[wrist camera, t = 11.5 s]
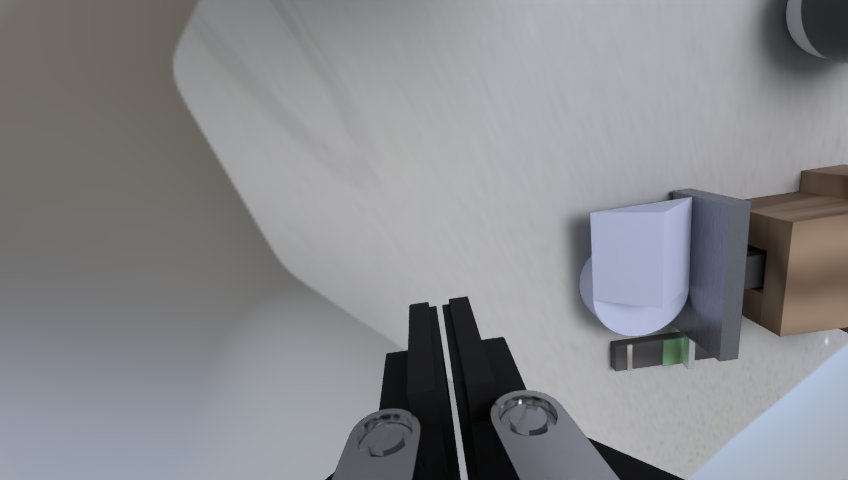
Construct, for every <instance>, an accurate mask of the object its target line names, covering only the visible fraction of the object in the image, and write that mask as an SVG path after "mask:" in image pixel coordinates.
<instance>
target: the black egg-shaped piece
mask: <svg viewBox="0 0 848 480" xmlns="http://www.w3.org/2000/svg"><path fill="white" fill-rule="evenodd" d="M786 21H787V26H788V30H789V32H790V35H791V36H792V38H793V40H794V41H795V42H796V43H797V44H798V45H799V46H800V47H801V48H802V49H803V50H805V51H806V52H808V53H810V54H812V55H815V56H818V57H822V58H826V59H830V60H832V61H835V62H840V63H848V0H788V3H787V10H786Z"/></svg>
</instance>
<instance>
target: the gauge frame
mask: <svg viewBox="0 0 848 480" xmlns="http://www.w3.org/2000/svg"><path fill="white" fill-rule="evenodd" d="M745 200H746V201H751V208H750V220H749V232H748V245H751V246H754V247H757V248H759V249H762V250H765V251H767V258H766V269H765V279H764V286H762V287H755V288H748V289H744V292H743V304H742V315H743V316H745V317H746V318H748V319H750V320H752V321H753V322H755V323H757V324H759V325H760V326H762V327H764V328H766V329H768V330H769V331H771V332H773V333H775V334H776V335H778V336H780V337H781V336H788V335H795V334H802V333H809V332H816V331H824V330H831V329H841V330H843V331H845V332H847V333H848V165H838V166H832V167H825V168H818V169H811V170H804V171H802V175H801V183H800V192H793V193H786V194H779V195H772V196H765V197H759V198H752V199H745ZM683 352H684V334H683V333H681V332H675V333H668V334H660V335H653V336H646V337H639V338H632V339H625V340H618V341H611V366H612V367H613V368H614V370H615V371H621V370H627V371H630V370H632V369H635V368H642V367H650V366H657V365H663V366H666V365H673V364H680V363H683ZM738 353H739V352H738ZM707 358H714V357H713V356H712V355H710V354H709V353H708V352H707V351H705V350H704V349H703V348H701V347H700V346H699V345H697V344H696V343H695V360H700V359H707Z"/></svg>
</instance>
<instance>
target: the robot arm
mask: <svg viewBox="0 0 848 480" xmlns="http://www.w3.org/2000/svg"><path fill="white" fill-rule="evenodd" d="M442 307H443V314H444V321H445V328H446V335H447V342H448V349H449V356H450V362H451V369H452V376H453V383H454V390H455V397H456V402H457V410H458V416H459V423H460V429H461V436H462V442H463V449H464V456H465V462H466V469H467V475H468V480H684V479H682V478H679V477H677V476H675V475H673V474H670V473H668V472H666V471H663V470H661V469H659V468H656V467H654V466H652V465H650V464H647V463H645V462H643V461H640V460H638V459H636V458H633V457H631V456H629V455H627V454H624V453H622V452H620V451H617V450H615V449H613V448H610V447H608V446H606V445H604V444H601V443H599V442H597V441H594V440H592V439H590V438H587V437H586V436H585V434H584V433H583V432H582V431H581V429H580V428H579V427H578V426H577V424H576V423H575V422H574V420H573V419H572V418H571V417H570V415H569V414H568V413H567V411H566V410H565V409H564V408H563V406H562V405H561V404H560V403H559V402H558V401H557V400H556V399H554V398H552V397H551V396H549V395H547V394H545V393H541V392H537V391H530V390H526V387H525V385H524V383H523V380H522V378H521V376H520V373H519V371H518V369H517V366H516V364H515V362H514V359H513V357H512V355H511V352H510V350H509V348H508V345H507V343H506V341H505V339H504V337H499V338H492V339H485V340H481V337H480V334H479V331H478V328H477V325H476V322H475V318H474V315H473V312H472V309H471V306H470V303H469V300H468V297H460V298H453V299H449V304H447V305H442ZM326 480H461V479H460V471H459V464H458V456H457V448H456V440H455V433H454V425H453V419H452V410H451V403H450V396H449V388H448V382H447V375H446V368H445V361H444V354H443V348H442V341H441V334H440V328H439V321H438V314H437V308H436V306H433V307H429V303H428V302H425V303H418V304H411V305H410V306H409V339H408V350H407V351H400V352H393V353H387V354H386V360H385V368H384V376H383V384H382V392H381V400H380V408H379V411H377V412H374V413H372V414H370V415H368V416H367V417H365V418H363V419H362V420H361V421H360V422H359V423H358V424H357V425H356V426H355V427H354V428H353V430H352V432H351V433H350V435H349V438H348V440H347V443H346V445H345V448H344V450H343V453H342V455H341V458H340V460H339V463H338V465H337V468H336V470H335V472H334V473H333V474H332V475H330V476H329V477H328V478H327V479H326Z"/></svg>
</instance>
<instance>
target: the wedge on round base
mask: <svg viewBox="0 0 848 480" xmlns="http://www.w3.org/2000/svg"><path fill="white" fill-rule="evenodd" d="M691 218H692V197H689V198H682V199H676V200H669V201H662V202H656V203H649V204H643V205H636V206H630V207H623V208H616V209H610V210H603V211H597V212H590V219H591V247H592V255H591V256H590V257H589V258H588V260H587V261H586V263H585V265H584V267H583V269H582V272H581V275H580V280H579V289H580V294H581V298H582V300H583V302H584V303H585V305H586V306H587V307H588V309H589V310H590V311H591V312H592V313H593V314H594V315H595V316H596V317H597V318H598V319H599V320H600V321H601V322H602V323H603V324H604V325H605V326H606V327H607V328H609V329H610V330H612V331H614V332H616V333H619V334H622V335H627V336H640V335H646V334H649V333H652V332H655V331H657V330H659V329H661V328H663V327H664V326H666V325H667V324H669V323H670V322H671V321H672V320H673V319H674V318H675V317H676V316H677V315H678V313H679V312H680V311H681V309H682V307H683V306H684V304H685V301H686V299H687V296H688V291H689V274H690V246H691Z"/></svg>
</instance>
